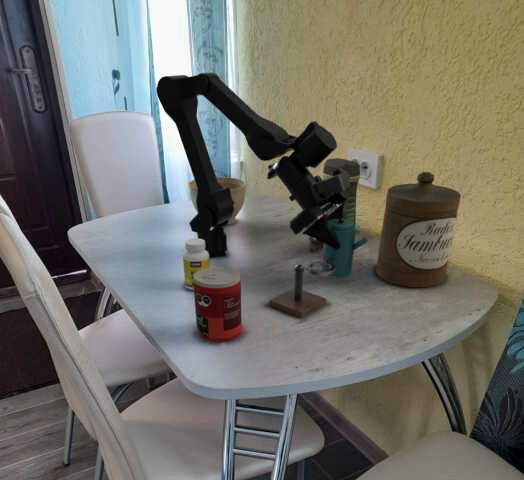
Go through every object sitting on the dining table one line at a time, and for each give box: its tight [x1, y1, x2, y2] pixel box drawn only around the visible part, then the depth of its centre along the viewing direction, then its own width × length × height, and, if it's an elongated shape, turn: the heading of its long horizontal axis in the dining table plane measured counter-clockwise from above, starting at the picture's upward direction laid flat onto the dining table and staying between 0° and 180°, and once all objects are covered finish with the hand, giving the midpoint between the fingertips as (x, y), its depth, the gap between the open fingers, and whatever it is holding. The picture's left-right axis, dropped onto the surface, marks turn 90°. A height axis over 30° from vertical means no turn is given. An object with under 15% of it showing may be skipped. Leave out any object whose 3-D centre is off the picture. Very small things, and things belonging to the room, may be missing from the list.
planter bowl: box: [187, 176, 248, 225], centre depth 143 cm, size 16×16×11 cm
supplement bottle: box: [182, 237, 211, 291], centre depth 105 cm, size 5×5×10 cm
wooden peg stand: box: [268, 264, 327, 319], centre depth 97 cm, size 8×8×8 cm
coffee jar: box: [322, 157, 361, 226], centre depth 134 cm, size 10×8×19 cm
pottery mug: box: [308, 236, 324, 252], centre depth 124 cm, size 12×10×8 cm
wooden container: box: [375, 171, 462, 288], centre depth 107 cm, size 15×15×22 cm
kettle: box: [305, 218, 369, 278], centre depth 102 cm, size 9×15×12 cm, turn 150°
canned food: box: [193, 266, 243, 343], centre depth 87 cm, size 8×8×11 cm
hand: (345, 243), depth 105 cm, fingers closed on kettle, 6 cm apart
